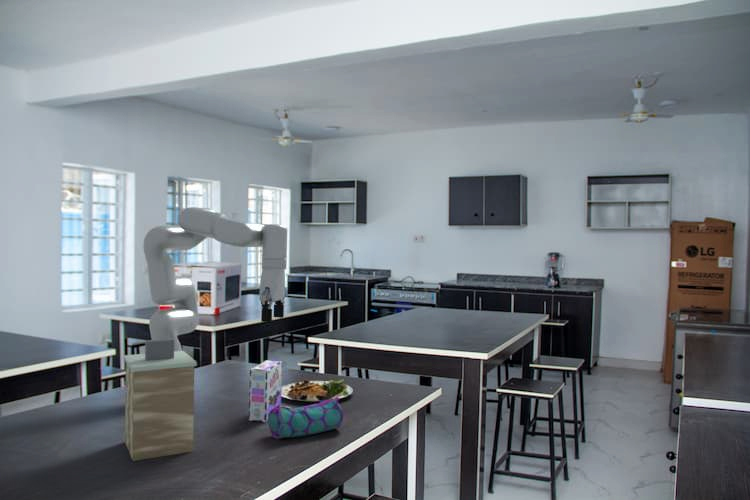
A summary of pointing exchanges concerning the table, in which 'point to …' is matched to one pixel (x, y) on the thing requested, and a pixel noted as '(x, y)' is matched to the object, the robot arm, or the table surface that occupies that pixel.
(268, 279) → the robot arm
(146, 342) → the lid
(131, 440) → the crate
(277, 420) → the pencil case
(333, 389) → the plate of food
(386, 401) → the table surface
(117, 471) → the table surface
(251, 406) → the candy box
